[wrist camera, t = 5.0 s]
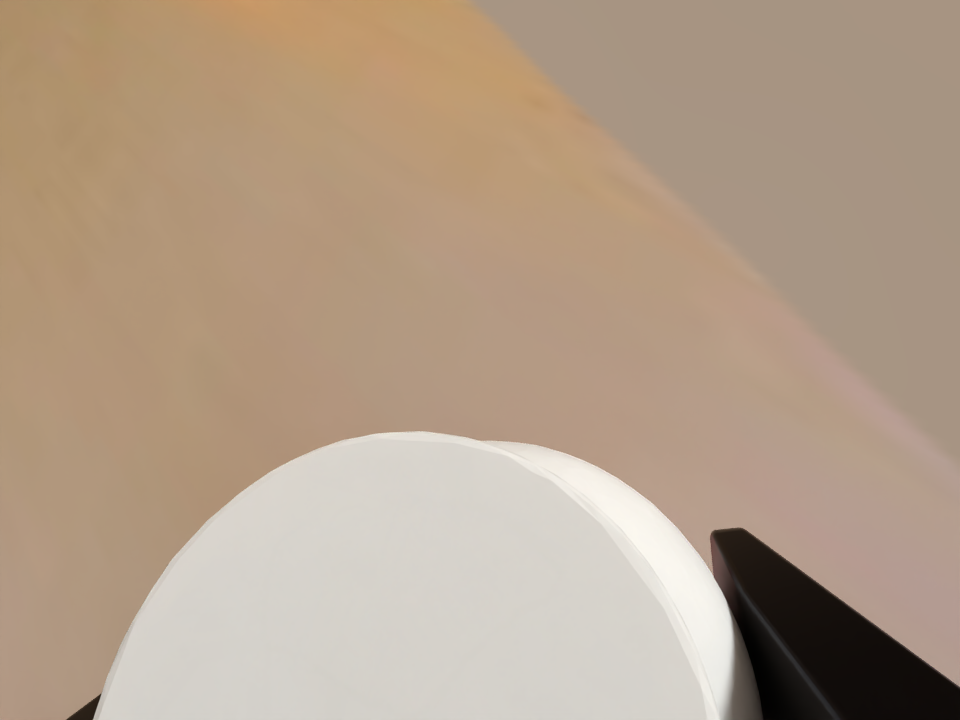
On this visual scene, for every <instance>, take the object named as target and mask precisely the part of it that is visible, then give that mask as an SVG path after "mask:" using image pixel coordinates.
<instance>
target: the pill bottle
mask: <svg viewBox="0 0 960 720" xmlns="http://www.w3.org/2000/svg"><path fill="white" fill-rule="evenodd" d="M93 720H763V714H762V707H761V700H760V695H759V690H758V686H757V682H756V678H755V674H754V670H753V666H752V663H751V660H750V657H749V654H748V651H747V648H746V645H745V642H744V639H743V636H742V633H741V631H740V628H739V626H738V624H737V622H736V620H735V618H734V615H733V613H732V611H731V609H730V607H729V605H728V603H727V600H726V598H725V596H724V594H723V593H722V591H721V589H720V587H719V586H718V584H717V582H716V580H715V579H714V577H713V575H712V573H711V572H710V570H709V568H708V567H707V565H706V564H705V563H704V561H703V560H702V558H701V557H700V555H699V554H698V553H697V552H696V550H695V549H694V548H693V547H692V545H691V544H690V543H689V542H688V540H687V539H686V538H685V537H684V536H683V534H682V533H681V532H680V531H679V529H678V528H677V527H676V526H675V525H674V524H673V523H672V522H671V521H670V520H669V519H668V518H667V517H666V516H665V515H664V514H663V513H662V512H661V511H659V510H658V509H657V508H656V507H655V506H654V505H653V504H652V503H651V502H650V501H648V500H647V499H646V498H645V497H643V496H642V495H641V494H639V493H638V492H637V491H635V490H634V489H633V488H631V487H630V486H628V485H627V484H625V483H624V482H622V481H621V480H619V479H618V478H616V477H615V476H613V475H611V474H609V473H607V472H606V471H604V470H602V469H600V468H598V467H597V466H594V465H592V464H590V463H588V462H586V461H583V460H581V459H578V458H576V457H573V456H571V455H568V454H566V453H562V452H559V451H555V450H552V449H548V448H545V447H541V446H538V445H531V444H525V443H517V442H505V441H478V440H474V439H471V438H467V437H461V436H455V435H448V434H440V433H432V432H424V431H420V432H393V433H379V434H372V435H367V436H363V437H358V438H352V439H347V440H342V441H339V442H336V443H333V444H330V445H327V446H324V447H321V448H318V449H316V450H314V451H311V452H309V453H307V454H305V455H302V456H300V457H298V458H296V459H293V460H291V461H289V462H288V463H286V464H284V465H282V466H280V467H278V468H276V469H274V470H272V471H271V472H269V473H268V474H266V475H265V476H263V477H262V478H260V479H259V480H257V481H256V482H255V483H253V484H252V485H250V486H249V487H248V488H246V489H245V490H244V491H242V492H241V493H239V494H238V495H237V496H236V497H235V498H233V499H232V500H231V501H230V502H229V503H228V504H226V505H225V506H224V507H223V508H222V509H220V510H219V511H218V512H217V513H216V514H215V515H213V516H212V517H211V518H210V519H209V520H208V521H207V522H206V523H205V524H204V525H203V526H202V527H201V528H200V529H199V530H198V531H197V533H196V534H195V535H194V536H193V537H192V538H191V539H190V540H189V541H188V542H187V543H186V545H185V546H184V547H183V548H182V549H181V550H180V551H179V552H178V553H177V554H176V555H175V556H174V558H173V559H172V560H171V562H170V563H169V565H168V566H167V568H166V569H165V570H164V572H163V573H162V575H161V576H160V578H159V579H158V581H157V582H156V584H155V585H154V587H153V588H152V590H151V591H150V593H149V595H148V596H147V598H146V600H145V601H144V603H143V605H142V606H141V608H140V610H139V611H138V613H137V615H136V616H135V618H134V620H133V622H132V624H131V626H130V628H129V629H128V631H127V633H126V635H125V637H124V639H123V641H122V643H121V645H120V647H119V650H118V652H117V655H116V657H115V659H114V662H113V664H112V666H111V669H110V671H109V674H108V676H107V679H106V682H105V685H104V688H103V691H102V694H101V697H100V700H99V703H98V706H97V709H96V712H95V715H94V718H93Z"/></svg>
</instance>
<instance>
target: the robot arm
mask: <svg viewBox="0 0 960 720" xmlns="http://www.w3.org/2000/svg"><path fill="white" fill-rule="evenodd" d="M710 543H711V553H712V563H713V573H714V579H715V580H716V582H717V584H718V586H719V587H720V589H721V591H722V593H723V594H724V596H725V598H726V600H727V603H728V605H729V607H730V609H731V611H732V613H733V615H734V618H735V620H736V622H737V624H738V626H739V628H740V631H741V633H742V636H743V639H744V642H745V645H746V648H747V651H748V654H749V657H750V660H751V663H752V666H753V670H754V674H755V678H756V682H757V686H758V690H759V695H760V700H761V707H762V714H763V720H960V687H959V686H958V685H956V684H955V683H954V682H952V681H951V680H949V679H948V678H947V677H945V676H944V675H943V674H941V673H940V672H939V671H937V670H936V669H934V668H933V667H932V666H930V665H929V664H928V663H926V662H925V661H924V660H922V659H921V658H919V657H918V656H917V655H915V654H914V653H913V652H911V651H910V650H909V649H907V648H906V647H905V646H903V645H902V644H900V643H899V642H898V641H896V640H895V639H894V638H892V637H891V636H890V635H888V634H887V633H885V632H884V631H883V630H881V629H880V628H879V627H877V626H876V625H875V624H873V623H872V622H870V621H869V620H868V619H866V618H865V617H864V616H862V615H861V614H860V613H858V612H857V611H856V610H854V609H853V608H851V607H850V606H849V605H847V604H846V603H845V602H843V601H842V600H841V599H839V598H838V597H836V596H835V595H834V594H832V593H831V592H830V591H828V590H827V589H826V588H824V587H823V586H821V585H820V584H819V583H817V582H816V581H815V580H813V579H812V578H811V577H809V576H808V575H807V574H805V573H804V572H802V571H801V570H800V569H798V568H797V567H796V566H794V565H793V564H792V563H790V562H789V561H787V560H786V559H785V558H783V557H782V556H781V555H779V554H778V553H777V552H775V551H774V550H772V549H771V548H770V547H768V546H767V545H766V544H764V543H763V542H762V541H760V540H759V539H758V538H756V537H755V536H753V535H752V534H751V533H749V532H748V531H747V530H745V529H743V528H730V529H720V530H714V531H713V532H712V533H711V535H710ZM101 694H102V693H101ZM101 694H100V695H99V696H97V697H96V698H95V699H93V700H92V701H91V702H89V703H88V704H87V705H85V706H84V707H83V708H81V709H80V710H79V711H77V712H76V713H75V714H73V715H72V716H71V717H69V718H68V719H67V720H93V718H94V715H95V712H96V709H97V706H98V703H99V700H100V697H101Z"/></svg>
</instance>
